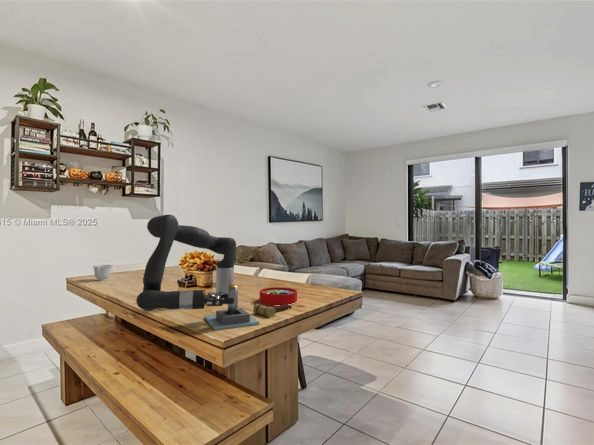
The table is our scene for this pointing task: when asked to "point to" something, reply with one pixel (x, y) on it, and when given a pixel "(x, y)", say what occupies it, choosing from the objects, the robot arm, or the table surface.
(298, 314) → the table surface
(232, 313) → the chrome cylinder
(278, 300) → the toy clock
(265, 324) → the table surface
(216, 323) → the dock
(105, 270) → the teacup
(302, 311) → the table surface
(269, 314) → the gavel
